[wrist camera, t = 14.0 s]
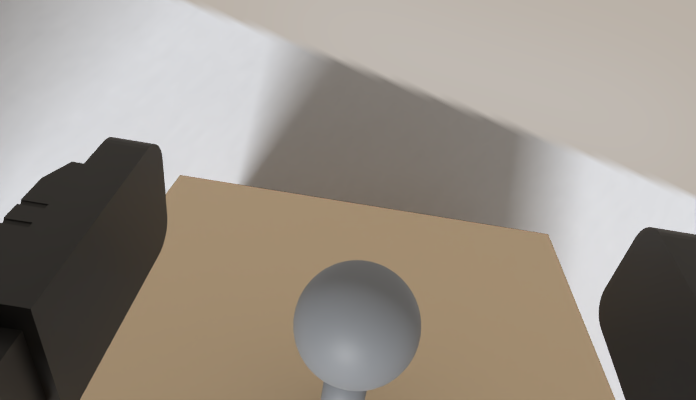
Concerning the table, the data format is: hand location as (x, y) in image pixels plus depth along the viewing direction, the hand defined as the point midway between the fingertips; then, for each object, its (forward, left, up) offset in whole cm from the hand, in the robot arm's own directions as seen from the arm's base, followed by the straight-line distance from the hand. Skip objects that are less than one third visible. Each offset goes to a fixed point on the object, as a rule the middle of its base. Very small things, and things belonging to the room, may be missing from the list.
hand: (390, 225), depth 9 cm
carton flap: (0, -2, -12) cm, 12 cm away
